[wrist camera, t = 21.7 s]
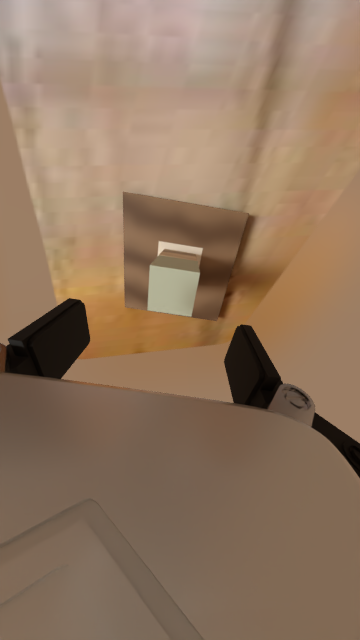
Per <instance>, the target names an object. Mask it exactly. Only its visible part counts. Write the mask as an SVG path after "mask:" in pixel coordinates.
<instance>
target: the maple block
mask: <svg viewBox="0 0 360 640" xmlns="http://www.w3.org/2000/svg"><path fill="white" fill-rule="evenodd" d="M159 255H162V256H168V257H174V258H181V259H187V260H193V261H197V258H196V254H193V253H187V252H181V251H175V250H169V249H164V250H163V251H162V252H161V253H160V254H159Z"/></svg>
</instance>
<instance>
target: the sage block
mask: <svg viewBox="0 0 360 640" xmlns="http://www.w3.org/2000/svg"><path fill="white" fill-rule="evenodd" d="M199 276H200V270H199V265H198V261H193V260H187V259H181V258H174V257H168V256H162V255H159V256H158V257H157V258H156V259H155V260H154V261H153V262H152V263H151V264H150V271H149V290H148V309H147V310H149V311H156V312H163V313H169V314H176V315H183V316H189V317H191V316H192V311H193V306H194V301H195V296H196V291H197V286H198V281H199Z"/></svg>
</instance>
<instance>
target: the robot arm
mask: <svg viewBox="0 0 360 640" xmlns="http://www.w3.org/2000/svg"><path fill="white" fill-rule="evenodd" d="M8 341H9V343H10V344H9V345H7V346H5V345H4V344H1V343H0V640H360V443H358V442H357V441H355V440H354V439H352V438H351V437H350V436H348V435H347V434H345V433H344V432H342V431H341V430H339V429H338V428H337V427H335V426H333V425H332V424H331V423H329V422H328V421H326V420H325V419H324V418H322V417H321V416H319V415H318V414H316V413H315V405H314V403H313V401H312V399H311V398H310V396H309V395H308V394H306V393H305V392H304V391H303V390H301V389H300V388H298V387H296V386H294V385H291V384H283V382H282V381H281V377H280V376H279V374H278V372H277V370H276V369H275V367H274V365H273V363H272V362H271V360H270V358H269V356H268V355H267V353H266V351H265V349H264V347H263V346H262V344H261V342H260V340H259V339H258V337H257V335H256V333H255V332H254V330H253V328H252V327H251V326H249V325H242V324H241V325H240V326H237V328H236V330H235V333H234V335H233V338H232V341H231V343H230V346H229V349H228V351H227V354H226V357H225V361H224V363H225V368H226V372H227V376H228V381H229V385H230V389H231V393H232V397H233V401H234V403H229V402H223V401H216V400H210V399H203V398H196V397H189V396H181V395H174V394H168V393H161V392H153V391H146V390H138V389H131V388H124V387H116V386H109V385H102V384H94V383H86V382H79V381H71V380H64V379H61V378H62V376H63V375H64V374H65V373H66V372H67V370H68V369H69V368H70V367H71V365H72V364H73V363H74V362H75V360H76V359H77V358H78V357H79V355H80V354H81V353H82V352H83V350H84V349H85V348H86V347H87V346H88V344H89V342H90V335H89V329H88V323H87V316H86V310H85V305H84V303H82V301H81V300H77V299H70V298H69V299H67V300H66V301H64V302H63V303H61V304H60V305H58V306H57V307H55V308H54V309H52V310H51V311H49V312H48V313H46V314H45V315H43V316H42V317H40V318H39V319H37V320H36V321H34V322H33V323H31V324H30V325H28V326H27V327H25V328H24V329H22V330H21V331H19V332H18V333H16V334H15V335H13V336H12V337H10V338H9V339H8Z"/></svg>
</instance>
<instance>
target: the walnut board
mask: <svg viewBox="0 0 360 640" xmlns="http://www.w3.org/2000/svg"><path fill="white" fill-rule="evenodd" d="M248 215H249V213H243V212H237V211H231V210H225V209H220V208H214V207H208V206H202V205H197V204H191V203H185V202H179V201H173V200H168V199H162V198H156V197H150V196H145V195H139V194H133V193H127V192H123V223H124V282H125V307H127V308H134V309H141V310H147V309H148V290H149V271H150V264H151V263H152V262H153V261H154V260H155V259H156V258H157V257H158V256H159V254H160V253H161V252H162V251H163V250H164V249H169V250H175V251H181V252H187V253H193V254H196V258H197V261H198V265H199V270H200V276H199V281H198V286H197V291H196V296H195V301H194V306H193V311H192V316H191V317H193V318H200V319H207V320H213V321H217V319H218V316H219V313H220V309H221V306H222V303H223V299H224V296H225V292H226V289H227V286H228V282H229V279H230V275H231V272H232V269H233V265H234V262H235V259H236V255H237V252H238V248H239V245H240V242H241V238H242V235H243V232H244V228H245V225H246V221H247V218H248ZM147 311H149V310H147ZM154 312H156V311H154ZM160 313H163V312H160ZM167 314H169V313H167ZM174 315H176V314H174ZM180 316H183V315H180ZM187 317H189V316H187Z"/></svg>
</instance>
